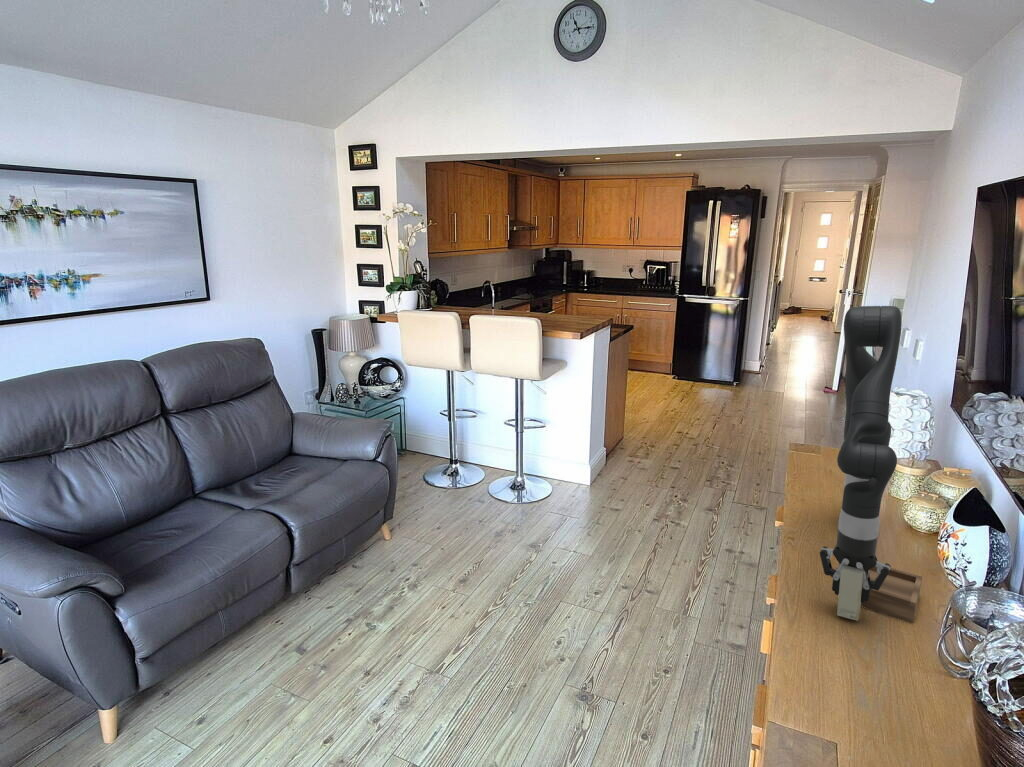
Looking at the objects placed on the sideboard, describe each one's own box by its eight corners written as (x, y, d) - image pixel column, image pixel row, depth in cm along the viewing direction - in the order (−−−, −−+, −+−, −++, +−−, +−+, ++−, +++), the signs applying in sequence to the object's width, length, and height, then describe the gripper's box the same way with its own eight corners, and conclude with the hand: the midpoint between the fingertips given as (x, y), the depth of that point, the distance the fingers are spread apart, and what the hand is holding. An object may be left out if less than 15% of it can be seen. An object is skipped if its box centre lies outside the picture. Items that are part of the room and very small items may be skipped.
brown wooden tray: (861, 579, 146) (863, 560, 145) (918, 596, 139) (922, 576, 137) (851, 604, 137) (853, 584, 136) (912, 624, 130) (915, 603, 128)
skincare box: (858, 622, 130) (863, 574, 126) (835, 615, 132) (840, 568, 129) (860, 606, 135) (866, 559, 131) (839, 600, 137) (843, 554, 134)
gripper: (899, 531, 126) (889, 599, 131) (825, 513, 135) (818, 577, 139) (894, 547, 120) (884, 617, 125) (817, 527, 129) (811, 594, 134)
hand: (849, 596), depth 132 cm, fingers closed on skincare box, 4 cm apart
